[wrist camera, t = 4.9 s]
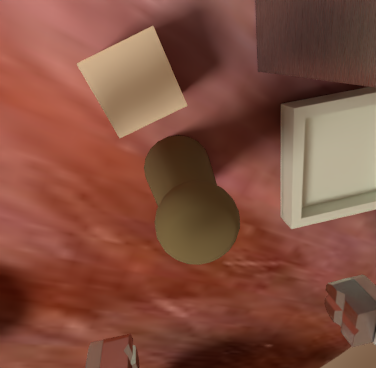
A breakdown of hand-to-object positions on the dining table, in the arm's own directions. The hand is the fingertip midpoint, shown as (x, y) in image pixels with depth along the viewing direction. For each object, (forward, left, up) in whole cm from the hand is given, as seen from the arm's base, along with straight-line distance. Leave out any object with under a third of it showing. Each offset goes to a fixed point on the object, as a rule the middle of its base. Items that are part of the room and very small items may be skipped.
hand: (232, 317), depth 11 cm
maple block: (-8, -2, -16) cm, 18 cm away
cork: (0, 0, -16) cm, 16 cm away
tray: (+2, +16, -16) cm, 23 cm away
